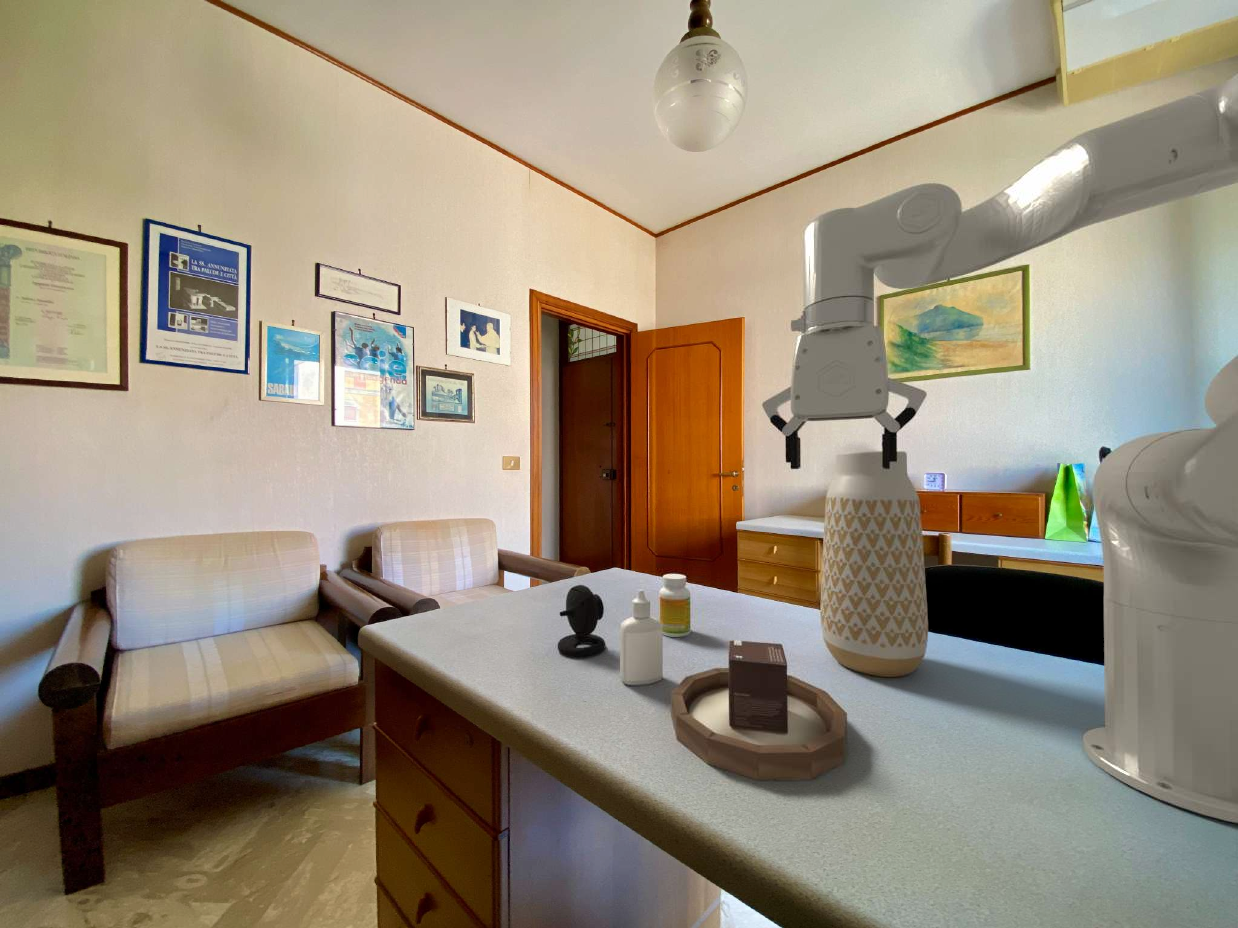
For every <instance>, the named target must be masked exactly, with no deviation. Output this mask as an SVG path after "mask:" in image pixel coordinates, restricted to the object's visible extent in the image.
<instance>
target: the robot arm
mask: <svg viewBox="0 0 1238 928" xmlns="http://www.w3.org/2000/svg"><path fill="white" fill-rule="evenodd" d="M1234 184H1238V73H1236V74H1235V75H1234V76H1233V77H1231V78H1229V79H1228V80H1226V81H1225V82H1223V83H1220V84H1217V85H1215V86H1212V87H1210V88H1207V89H1204V90H1201V91H1198V92H1195V93H1193V94H1190V95H1187V96H1185V97H1182V98H1180V99H1176V100H1173V101H1171V102H1168V103H1165V104H1164V103H1163V104H1162V105H1159V106H1156V107H1154V108H1151V109H1148V110H1144V111H1142V112H1139V113H1136V114H1133V115H1131V116H1128V117H1126V118H1122V119H1119V120H1117V121H1112V122H1110V123H1107V124H1105V125H1102V126H1099V127H1095V128H1093V129H1090V130H1087V131H1085V132H1083V133H1080V134H1078V135H1076V136H1075V137H1073V138H1071V139H1070V140H1068V141H1066V142H1065V143H1063V144H1062V145H1060V146H1059V147H1058V148H1056V149H1054V150H1053V151H1051V152H1050V153H1049V154H1047V156H1045V157H1044V158H1042V159H1041V160H1040V161H1038V163H1036V164H1035V165H1034V166H1033V167H1031V168H1030V169H1029V170H1028V171H1026V172H1025V173H1024V174H1023V175H1021V177H1019V178H1018V179H1016V180H1015V181H1014V182H1012V183H1011V184H1010V185H1008V186H1007V187H1006V188H1004V189H1003V190H1001V191H1000V192H998V193H996V194H995V195H993V196H992V197H990V198H988V199H987V200H985V201H983V202H981V203H979V204H976V205H974V206H972V207H970V208H969V209H966V210H963V206H962V201H961V198H960V196H959V195H958V193H957V192H956V191H955V190H954V189H953V188H951V187H950V186H948V185H945V184H942V183H935V182H932V183H931V182H930V183H927V182H926V183H921V184H917V185H913V186H910V187H907V188H903V189H901V190H899V191H896V192H894V193H891V194H889V195H887V196H884V197H881V198H879V199H876V200H874V201H870V202H869V203H867V204H863V205H861V206H858V207H841V208H837V209H833V210H829V211H827V212H825V213H822V214H820V215H818V216H817V217H816V218H814V219H813V220H812V221H811V222H810V223H809V224H808V225H807V227H806V229H805V232H804V234H803V238H802V239H803V241H802V247H803V248H802V249H803V252H802V253H803V255H802V256H803V258H802V260H803V265H802V266H803V267H802V269H803V270H802V271H803V273H802V274H803V277H802V279H803V310H802V315H800V317H798V318H797V319H794V320H791V321H790V330H791V332H798V333H799V332H801V333H802V334H801V335H799V336H797V337H796V340H795V345H794V352H793V356H792V367H791V381H790V383H791V384H790V386H789V387H787V388H785V389H784V390H782V391H780V392H779V393H776V394H775V395H773V396H772V397H770V398H768V399H767V400H765V401H763V402H762V404H761V406H762V409H763V410H764V412H765V415H766V416H767V417H768V419H769V421H770V423H771V424H772V425H773V426H774V427H775V428H776V429H778V431H779V432H781V433H782V434H783V436H785V441H784V442H785V463H788V464H789V463H790V469H791V470H799V469H801V467H802V465H801V457H802V456H801V455H802V454H801V452H802V451H801V437H800V436H799V431H800V430H801V429H802V428H803V427H804V425H806V423H808V422H824V421H825V422H826V421H843V420H845V421H847V420H864V419H865V420H867V419H874V420H876V421H877V423H879V425H881V426H882V427H883V433H882V434H881V447H882V448H881V451H882V468H884V469H890V462H897V451H898V441H897V440H898V435H897V434H898V432H899V431H900V430H901V429H903V427H905V426H906V425H907V424H908V423H910V421H912V420H913V419H914V417H915V416H916V414H917V413H918V411H919V409H920V408H921V407H922V404H923V403H924V401H925V399H926V398H927V395H928V393H927V392H926V390H923V389H920V388H918V387H915V386H912V385H909V384H907V383H906V382H905V383H904V382H901V381H899V380H896V379H893V378H891V377H889V372H888V369H889V368H888V355H887V346H886V343H885V337H884V333H883V329H882V326H880V325H875V281H874V280H875V279H874V277H876V278H877V280H878V281H879V282H880V283H881V284H883V285H885V286H886V287H888V288H892V289H899V290H908V289H916V288H921V287H925V286H929V285H933V284H936V283H940V282H943V281H947V280H950V279H954V278H958V277H963V276H965V275H969V274H972V273H975V272H978V271H981V270H983V269H986V268H989V267H992V266H995V265H997V264H999V263H1002V262H1004V261H1007V260H1009V259H1011V258H1014V257H1016V256H1019V255H1021V254H1023V253H1026V252H1028V251H1032V250H1033V249H1036V248H1039V247H1041V246H1044V245H1046V244H1048V243H1051V242H1054V241H1056V240H1058V239H1060V238H1062V237H1064V236H1067V235H1069V234H1070V233H1073V232H1075V231H1078V230H1080V229H1082V228H1083V229H1084V228H1086V227H1088V226H1092V225H1095V224H1098V223H1102V222H1104V221H1105V222H1106V221H1108V220H1112V219H1116V218H1120V217H1122V216H1126V215H1128V214H1132V213H1135V212H1140V211H1142V210H1143V211H1144V210H1147V209H1150V208H1153V207H1157V206H1161V205H1164V204H1167V203H1171V202H1174V201H1177V200H1181V199H1186V198H1189V197H1193V196H1196V195H1199V194H1203V193H1207V192H1210V191H1213V190H1216V189H1217V190H1218V189H1220V188H1224V187H1227V186H1228V187H1229V186H1231V185H1234ZM890 393H892V394H895V395H897V396H900V397H902V398H905V399H907V404H906V406H905V408H904V410H902V411H901V412H900V413H899V414H898V415H897V416H895V417H893V416H892V415H891V414H889V412H887V409H888V406H889V397H890ZM789 401H790V410H791V411H790V412H791V414H792V417H791V418H790V419H789V420H788V422H787V421H786V420H785V419H784V418H783V417H782V416H781V415H780V413H779V410H778V408H779V407H781V406H782V405H784V404H785V403H787V402H789ZM1204 409H1205V411H1206V413H1207V416H1208V418H1209V419H1210V420H1211V421H1212V422H1213V423H1214V424H1215V426H1214V427H1210V428H1193V429H1181V430H1173V431H1165V432H1157V433H1156V432H1155V433H1152V434H1147V435H1143V436H1140V437H1136V438H1134V439H1131V440H1129V441H1127V442H1125V443H1123V444H1121V445H1119V446H1117V447H1116V448H1114V449H1113V450H1112V451H1111V452H1110V453H1109V454H1107V455H1106V456H1105V457H1104V458H1103V459H1102V461H1101V462H1100V464H1099V465H1098V467H1097V469H1096V472H1095V474H1094V477H1093V483H1092V499H1093V500H1092V501H1093V507H1094V511H1095V516H1096V521H1097V526H1098V530H1099V536H1100V543H1101V550H1102V551H1101V552H1102V566H1103V638H1104V639H1103V641H1104V643H1103V646H1104V647H1103V652H1104V659H1103V661H1104V663H1103V665H1104V725H1105V726H1104V727H1103V726H1102V727H1095V728H1093V729H1089V730H1087V731H1086V732H1085V733H1084V734H1083V738H1082V741H1083V742H1082V744H1083V745H1082V746H1083V750H1084V752H1085V754H1086V755H1087V757H1088V758H1089V759H1090V760H1091V761H1092V762H1093V763H1094V764H1095V765H1096V766H1098V767H1099V768H1101V769H1102V770H1103V771H1105V772H1106V773H1107V774H1109V775H1111V776H1112V777H1114V779H1115V778H1116V779H1117V780H1119V781H1121V782H1122V783H1125V784H1126V785H1128V786H1130V787H1132V788H1133V789H1136V790H1138V791H1141V792H1142V793H1144V794H1146V795H1148V796H1151V797H1153V798H1156V799H1158V800H1161V801H1162V802H1166V803H1168V804H1170V805H1173V806H1176V807H1178V808H1181V809H1184V810H1187V811H1191V812H1194V813H1196V814H1200V815H1202V816H1205V817H1206V816H1207V817H1209V818H1213V819H1217V820H1219V821H1220V820H1222V821H1225V822H1231V823H1234V824H1238V354H1236V356H1235V357H1233V358H1232V359H1231V360H1230V361H1229V362H1228V363H1226V364H1225V365H1224V366H1223V367H1222V368H1221V369H1220V370H1219V371H1218V372H1217V373H1216V375H1215V376H1214V378H1213V379H1212V380H1211V382H1210V383H1209V385H1208V387H1207V389H1206V391H1205V395H1204Z"/></svg>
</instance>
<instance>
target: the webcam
mask: <svg viewBox="0 0 1238 928" xmlns="http://www.w3.org/2000/svg"><path fill="white" fill-rule="evenodd" d="M568 590H569V591H568V592H567V594H566V600H565V610H562V611H560V612H559V615H560V617H567V620H568V624H569V626H570V628H571V629H572V631H573V632H574V634H570V635H567V636H564V637H562V638H561V639H560V640H559V641H558V643H557V650H558V652H559V653H560V654H562V655H564V656H566V657H569V658H578V659H581V658H582V659H584V658H591V657H594V656H597V655H599V654H601V653H603V652H604V650H605V647H606V642H605V640H604V638H602V637H601V636H599V635H597V634H592V633H593V632H594V631H595V630H596V628H597V625H598V621H600V620H602V619H603V616H604V611H605V609H604V608H605V606H604V603H603V599H602V598H601V597H600V595H599V594H597V593H593V591H591V589H590V588H589V587H588V586H586V585H583V584H578V585H574V586H572V587H571V588H570V589H568ZM587 643H588V644H592V645H589V646H584V647H578V646H580V645H582V644H587Z"/></svg>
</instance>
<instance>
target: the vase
mask: <svg viewBox="0 0 1238 928" xmlns="http://www.w3.org/2000/svg"><path fill="white" fill-rule="evenodd" d="M835 455H836V456H835V458H836V459H835V461H836V462H835V463H836V464H835V467H836V468H835V474H834V475H835V476H834V478H833V479H832V481H831V484H830V486H829V487H828V490H827V493H826V496H825V505H824V506H825V509H824V521H823V522H824V523H823V541H822V542H823V543H822V544H823V545H822V546H823V547H822V562H821V565H822V566H821V581H820V582H821V583H820V587H821V588H820V603H819V605H820V607H819V608H820V613H819V614H820V616H819V617H820V626H821V634H822V638H823V641H824V644H825V646H826V648H827V650H828V652H829V653H830V654H831V656H832V657H833V658H834V660H836V662H838V663H839V664H840V665H842V666H844V667H845V668H848V669H850V670H852V671H855V672H857V673H861V674H864V675H869V676H873V677H874V676H875V677H883V678H897V677H903V676H906V675H910V674H911V673H912V672H914V671H915V670H916V669H917V668H918V667H919V665H920V664H921V663H922V661H923V660H924V657H925V656H926V651H927V647H928V640H929V639H928V638H929V619H928V601H927V588H926V587H927V585H926V573H925V572H926V571H925V569H926V568H925V558H924V557H925V556H924V540H923V527H922V515H921V505H920V503H921V502H920V498H919V495H918V492H917V490H916V488H915V486H914V484H913V483H912V481H911V478H910V477H909V474H908V461H907V460H908V459H907V458H908V456H907V452H906V451H902V450H901V451H899V450H897V462H890V469H884V468H882V450H880V451H879V450H877V451H876V450H875V451H873V450H872V451H869V450H868V451H846V452H845V451H842V452H837V453H836V454H835Z"/></svg>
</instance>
